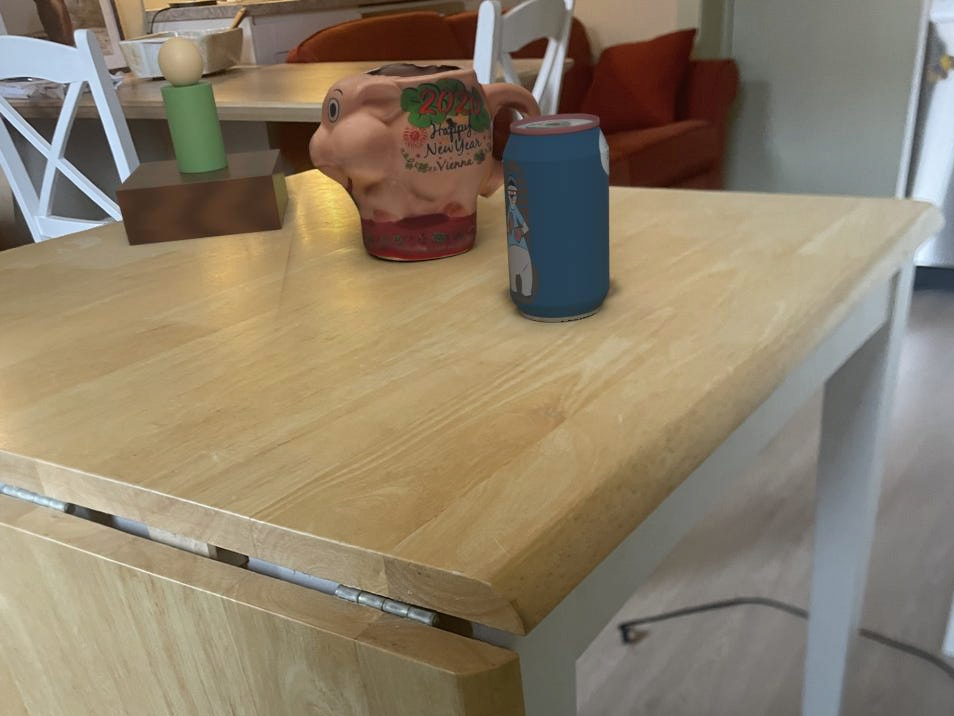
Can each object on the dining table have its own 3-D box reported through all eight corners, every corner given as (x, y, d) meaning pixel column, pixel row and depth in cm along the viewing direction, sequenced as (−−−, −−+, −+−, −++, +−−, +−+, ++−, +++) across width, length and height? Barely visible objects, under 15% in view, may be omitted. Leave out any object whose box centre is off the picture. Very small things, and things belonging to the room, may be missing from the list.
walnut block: (133, 259, 93) (114, 190, 90) (156, 225, 105) (140, 163, 101) (284, 243, 94) (271, 174, 91) (290, 211, 105) (279, 148, 102)
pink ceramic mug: (512, 214, 96) (503, 47, 88) (571, 239, 87) (566, 54, 79) (311, 250, 91) (282, 75, 83) (350, 281, 81) (321, 86, 73)
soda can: (623, 297, 72) (624, 111, 65) (588, 328, 67) (585, 130, 60) (534, 292, 75) (526, 112, 68) (495, 321, 70) (482, 130, 63)
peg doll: (176, 175, 94) (145, 41, 88) (182, 166, 98) (153, 37, 92) (225, 170, 94) (198, 36, 88) (230, 161, 98) (204, 32, 92)
